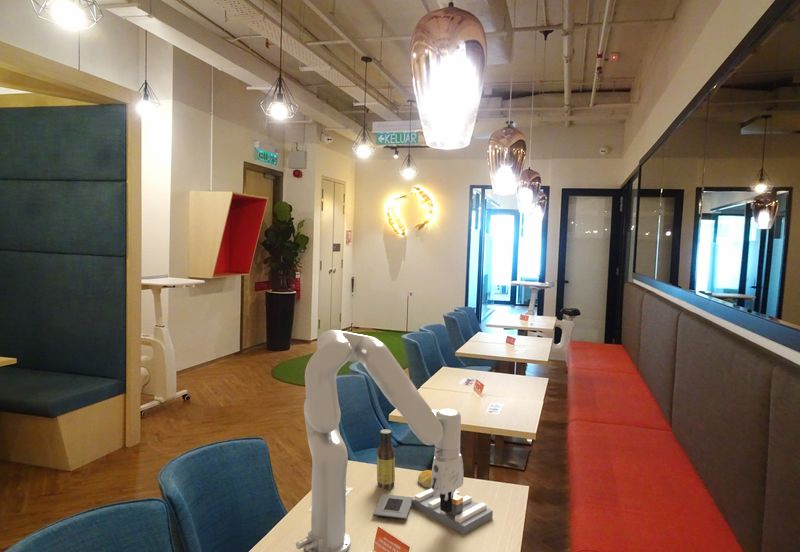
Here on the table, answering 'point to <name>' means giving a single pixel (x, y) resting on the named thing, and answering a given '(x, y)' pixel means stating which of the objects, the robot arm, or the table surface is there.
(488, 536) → the table surface
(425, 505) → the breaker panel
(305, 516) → the table surface
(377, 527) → the table surface
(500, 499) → the table surface
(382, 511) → the grey flat block
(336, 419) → the robot arm
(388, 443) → the sauce bottle
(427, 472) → the bread roll
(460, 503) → the block
